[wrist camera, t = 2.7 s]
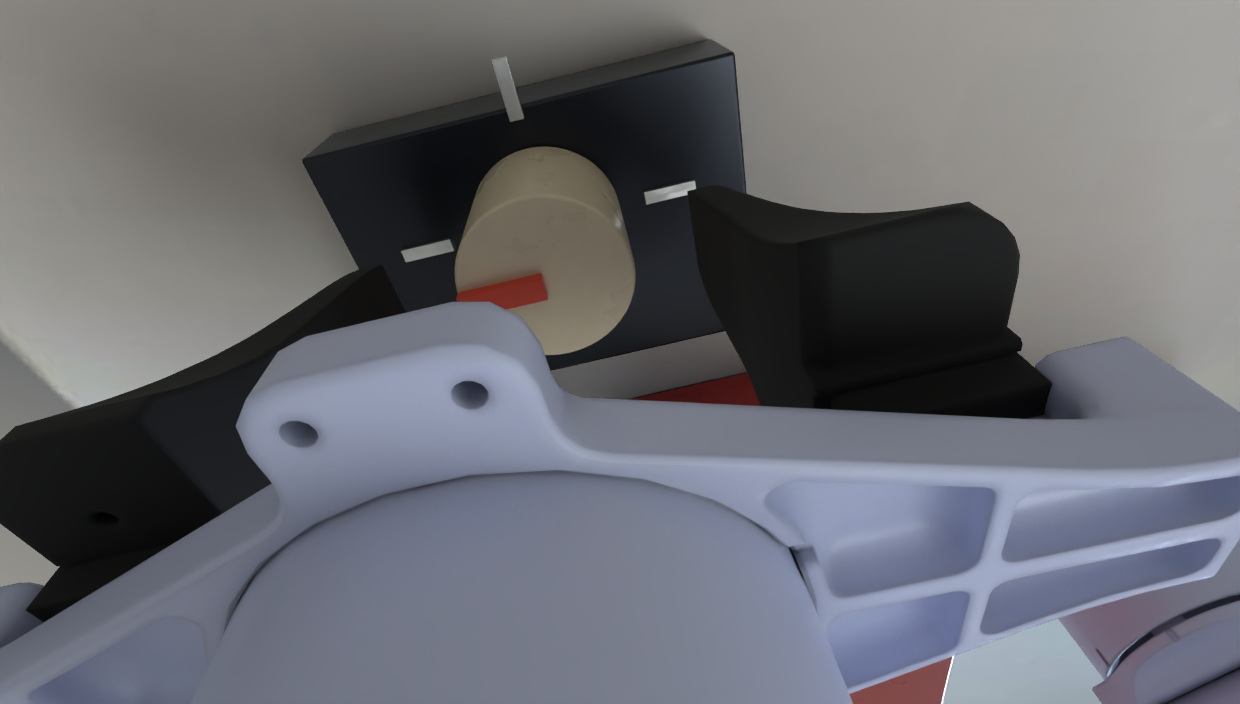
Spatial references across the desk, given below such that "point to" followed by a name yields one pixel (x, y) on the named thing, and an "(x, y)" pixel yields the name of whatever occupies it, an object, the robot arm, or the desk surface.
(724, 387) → the cabinet
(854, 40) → the desk surface
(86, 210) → the desk surface
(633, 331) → the panel
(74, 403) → the desk surface
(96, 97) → the desk surface
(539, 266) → the lock dial
